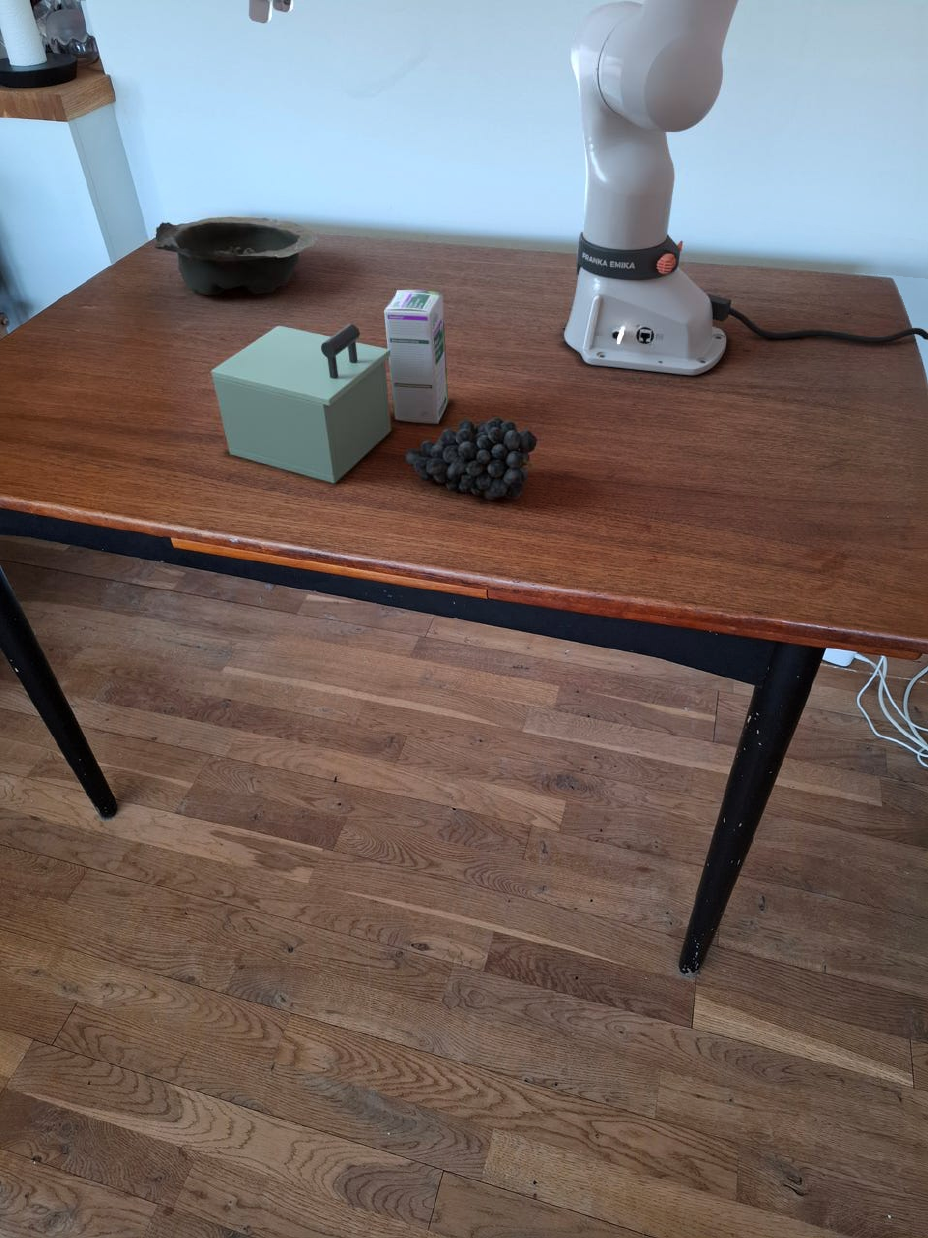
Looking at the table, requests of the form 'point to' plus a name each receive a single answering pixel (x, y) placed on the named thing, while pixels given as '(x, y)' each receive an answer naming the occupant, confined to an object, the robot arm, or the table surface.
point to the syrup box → (417, 355)
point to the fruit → (477, 458)
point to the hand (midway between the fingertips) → (271, 15)
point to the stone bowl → (235, 252)
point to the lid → (304, 363)
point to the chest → (305, 426)
